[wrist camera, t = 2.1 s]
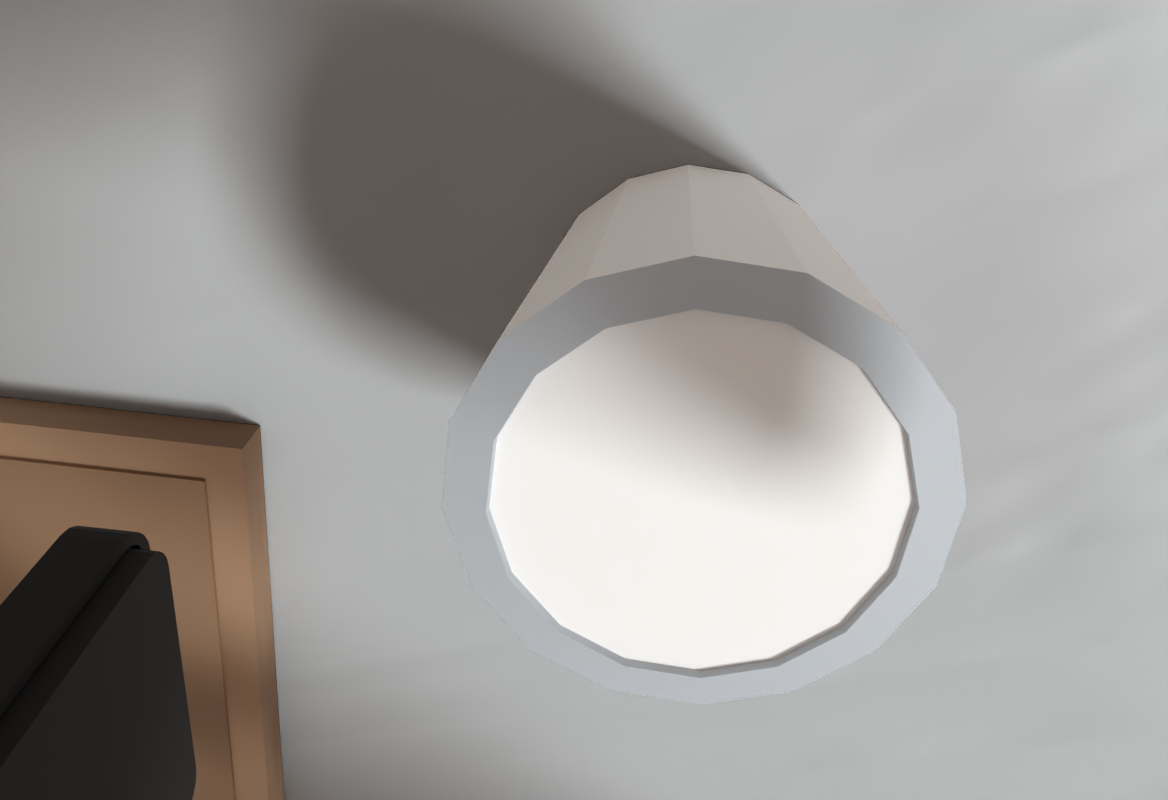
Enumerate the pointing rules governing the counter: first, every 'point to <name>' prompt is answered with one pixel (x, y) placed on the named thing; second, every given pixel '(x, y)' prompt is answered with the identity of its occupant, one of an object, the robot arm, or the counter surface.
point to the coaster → (189, 541)
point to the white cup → (702, 451)
